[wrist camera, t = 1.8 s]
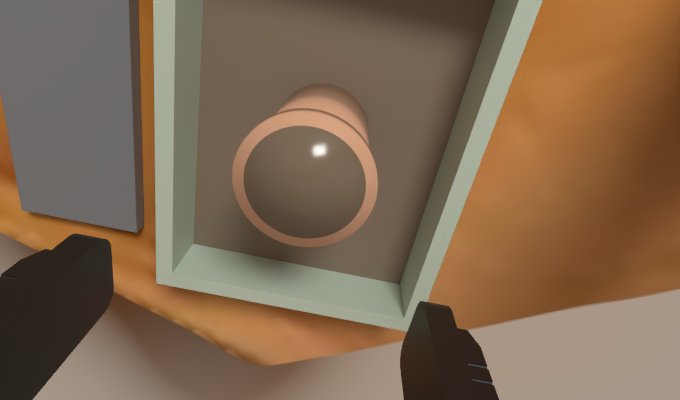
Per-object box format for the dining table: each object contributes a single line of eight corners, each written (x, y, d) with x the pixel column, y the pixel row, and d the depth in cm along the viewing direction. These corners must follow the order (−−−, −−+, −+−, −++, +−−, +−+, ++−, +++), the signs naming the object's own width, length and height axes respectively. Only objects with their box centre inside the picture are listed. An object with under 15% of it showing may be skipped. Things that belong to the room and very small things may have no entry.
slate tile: (134, -111, 20) (124, -116, 19) (143, 225, 29) (137, 232, 28) (-27, -148, 20) (-45, -155, 19) (32, 203, 29) (22, 210, 28)
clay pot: (385, 90, 23) (394, 131, 16) (361, 187, 26) (359, 259, 18) (278, 68, 23) (238, 98, 15) (265, 167, 25) (226, 233, 18)
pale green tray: (524, -45, 20) (564, -57, 16) (408, 288, 30) (414, 333, 26) (195, -122, 20) (151, -153, 16) (184, 245, 30) (156, 283, 25)
